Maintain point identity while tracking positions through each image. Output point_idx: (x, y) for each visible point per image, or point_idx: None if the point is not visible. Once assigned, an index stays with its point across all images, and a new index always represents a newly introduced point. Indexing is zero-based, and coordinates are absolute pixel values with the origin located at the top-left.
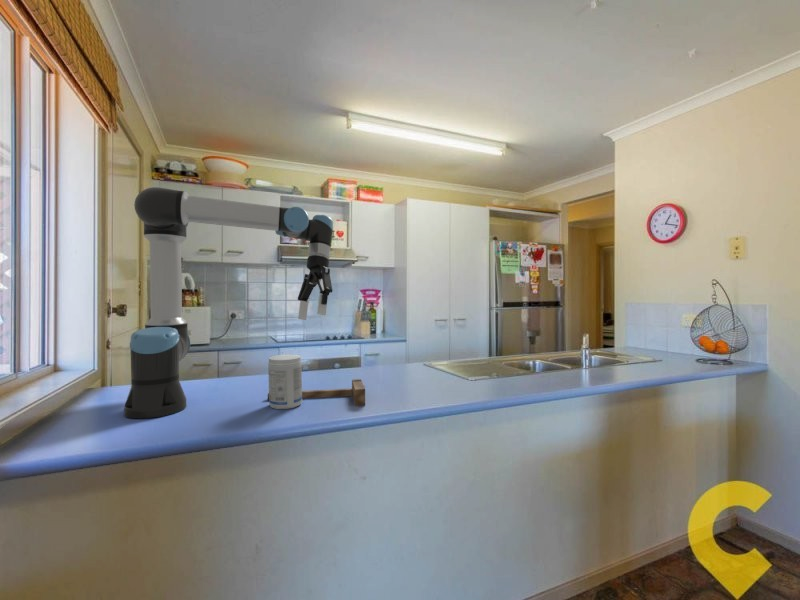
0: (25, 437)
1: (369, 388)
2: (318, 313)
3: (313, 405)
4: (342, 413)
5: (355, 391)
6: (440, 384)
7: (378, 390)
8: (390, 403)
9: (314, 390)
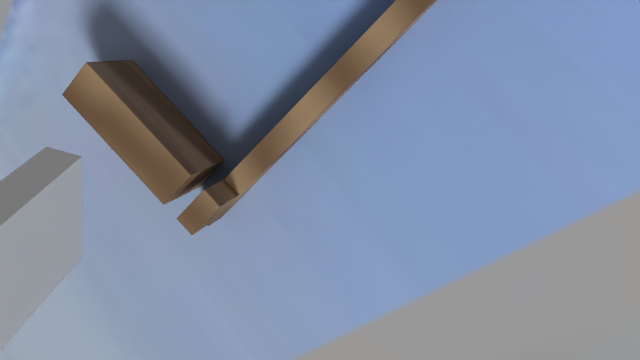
0: None
1: (253, 306)
2: (45, 152)
3: None
4: None
5: (91, 63)
6: None
7: (203, 295)
8: None
9: (360, 67)
